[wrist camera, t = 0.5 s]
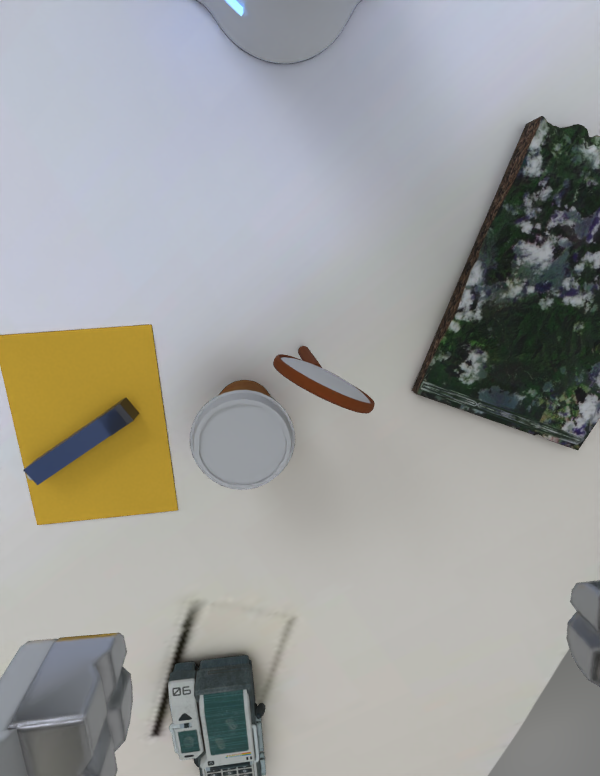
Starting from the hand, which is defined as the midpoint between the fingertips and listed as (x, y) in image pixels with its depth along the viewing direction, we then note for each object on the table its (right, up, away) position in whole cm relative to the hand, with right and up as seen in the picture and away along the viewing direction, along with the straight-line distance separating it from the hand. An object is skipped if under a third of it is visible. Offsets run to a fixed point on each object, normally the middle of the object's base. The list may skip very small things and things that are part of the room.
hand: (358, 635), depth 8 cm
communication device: (-12, -42, +55) cm, 70 cm away
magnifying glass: (-1, +9, +43) cm, 44 cm away
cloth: (-24, 0, +43) cm, 49 cm away
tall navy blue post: (-25, -1, +43) cm, 49 cm away
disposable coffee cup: (-7, +2, +44) cm, 45 cm away
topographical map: (+30, +15, +45) cm, 56 cm away
